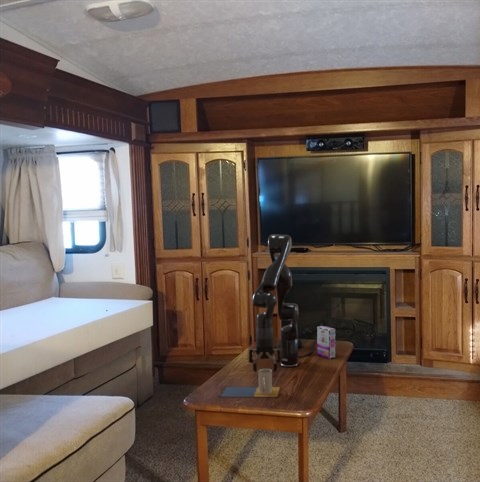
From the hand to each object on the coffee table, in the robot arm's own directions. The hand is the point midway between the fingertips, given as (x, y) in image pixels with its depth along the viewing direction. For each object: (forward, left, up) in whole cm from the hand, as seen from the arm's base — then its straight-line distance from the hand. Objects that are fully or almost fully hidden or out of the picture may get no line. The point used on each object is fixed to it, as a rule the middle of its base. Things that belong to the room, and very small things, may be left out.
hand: (265, 371), depth 197 cm
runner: (0, -6, -9) cm, 11 cm away
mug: (+2, 0, -9) cm, 9 cm away
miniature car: (-66, +6, -10) cm, 67 cm away
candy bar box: (-53, +28, -10) cm, 61 cm away
